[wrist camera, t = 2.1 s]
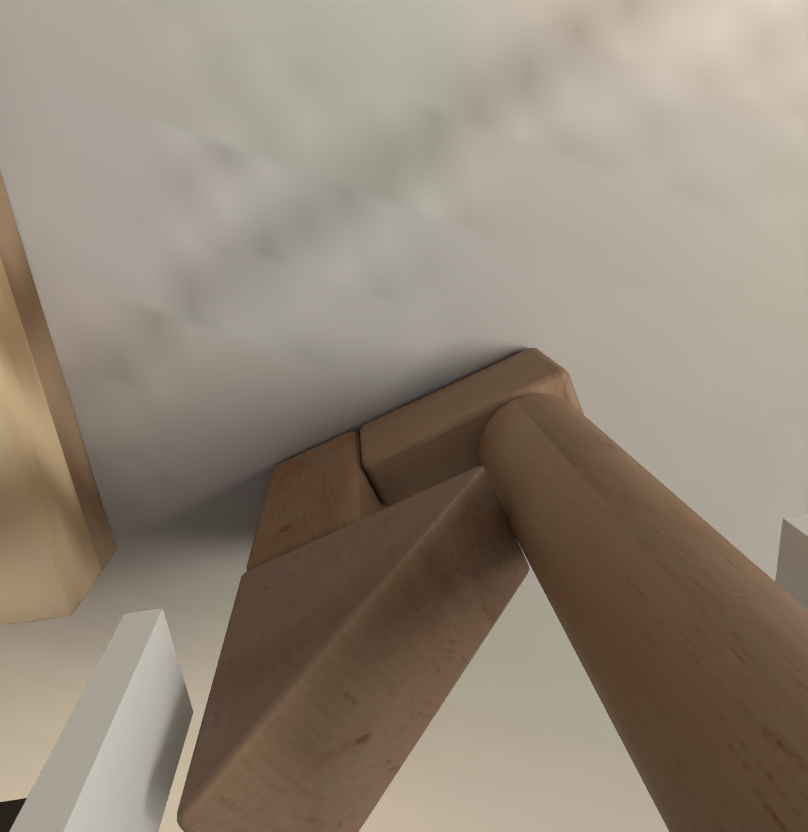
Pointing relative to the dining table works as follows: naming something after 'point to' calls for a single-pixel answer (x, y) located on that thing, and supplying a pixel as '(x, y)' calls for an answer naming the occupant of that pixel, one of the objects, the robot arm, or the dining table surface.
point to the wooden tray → (40, 459)
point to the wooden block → (493, 616)
